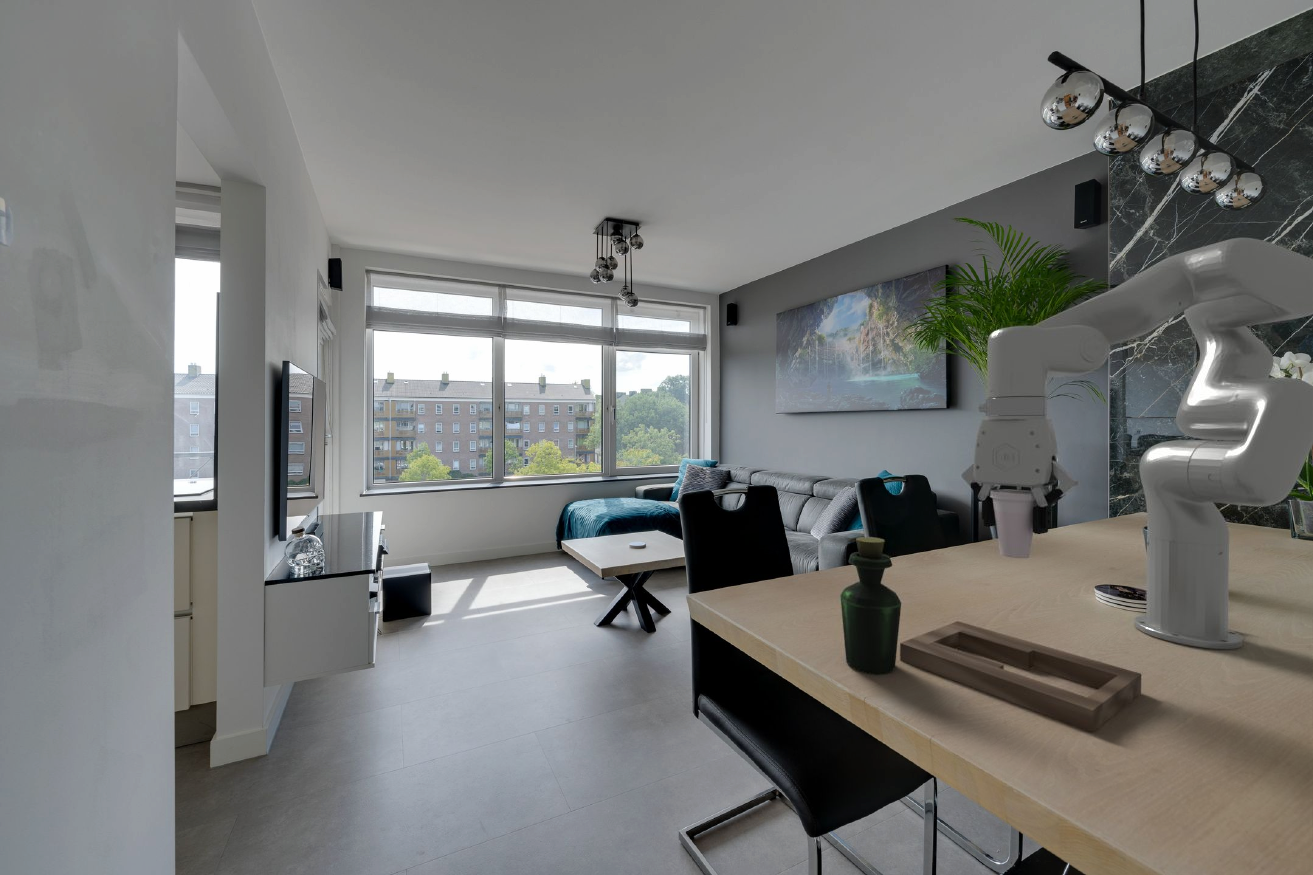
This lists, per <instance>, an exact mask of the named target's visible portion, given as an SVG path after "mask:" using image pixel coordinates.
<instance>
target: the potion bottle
mask: <svg viewBox="0 0 1313 875" xmlns="http://www.w3.org/2000/svg"><path fill="white" fill-rule="evenodd" d="M855 541H856V546H857V550H858V551H856V552H852V553H851V554H850V555H849V559H848V563H849V564H850V565H852V566H855V568H856V573H857V575H858V579H859V581H857V582H855V583H853V584H851V585H848V586H846V587H845V588H844V589H843V590H842V592H840V593H841V594H840V606H841V616H842V617H841V618H842V628H843V638H844V639H843V640H844V649H845V650H844V651H845V659H846V663H847V664H848V665H849V666H850V667H851V668H852V669H854V670H856V671H859V672H860V673H861V672H862V673H866V674H872V675H885V674H889V673H891V672H892V671H893V670H894V669H895V668H896V663H897V662H896V661H897V651H898V650H897V649H898V642H899V641H898V640H899V631H900V630H899V629H900V620H901V611H902V601H901V599H900V598H899V596H898V593H897V592H895V591H894V590H892V589H891V588H889V587H887V586H886V585H885V584H883V583H882V580H883V576H884V574H885V573H884V572H885V569H888V568H891V567H893V566H894V565H893V563H892V560H891V557H890V556H889V555H887V554H884V553H883V550H884V546H885V545H884V544H885V542H886V540H885V539H883V538H880V537H873V536H860V537H856V539H855Z"/></svg>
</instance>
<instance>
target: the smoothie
mask: <svg viewBox="0 0 1313 875" xmlns="http://www.w3.org/2000/svg"><path fill="white" fill-rule="evenodd" d="M990 497H991V498H993V506H994V513H995V520H996V526H995V527H996V532H997V540H998V547H999V555H1000V556H1002V557H1007V558H1011V559H1030V555H1031V551H1032V550H1031V549H1032V543H1033V536H1034V533H1033V507H1034V506H1037V501H1036V499H1035V497H1034V495H1033V492H1032V490H1025V489H1022V487H1019V486H1016V489H999V490H991V491H990Z"/></svg>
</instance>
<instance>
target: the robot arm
mask: <svg viewBox="0 0 1313 875" xmlns="http://www.w3.org/2000/svg"><path fill="white" fill-rule="evenodd" d="M1181 313H1184V317H1185V320H1186V322H1187V324H1188V326H1189V327H1190V330H1191V332H1192V333H1193V335H1194V338H1195V340H1196V342H1197V344H1198V347H1199V354H1200V355H1199V361H1198V363H1197V366H1196V368H1195V371H1194V373H1193V375H1192V377H1191V379H1190V382H1189V384H1188V386H1187V387H1186V390H1185V393H1184V394H1183V396H1182V399H1181V401H1180V403H1179V406H1178V409H1177V412H1176V417H1175V422H1176V426H1177V428H1178V429H1179V431H1180V432H1182V434H1184V435H1187V436H1189V437H1190V438H1195V439H1194V440H1193V439H1179V440H1169V441H1167V440H1166V441H1163V442H1159V443H1156V444H1155V445H1152V446H1151V447H1149V448H1148V449H1146V450H1145V452H1144V453H1143V454H1142V456H1141V458H1140V461H1139V477H1140V480H1141V481H1140V482H1141V485H1142V488H1143V493H1144V497H1145V503H1146V517H1147V518H1146V522H1147V526H1146V528H1147V529H1146V531H1147V534H1146V614H1141V615H1137V616H1136V617H1134V620H1133V625H1134V627H1135V628H1136V629H1137V630H1138V631H1141V632H1142V633H1144V634H1146V635H1149V636H1152V637H1155V638H1157V639H1161V640H1164V641H1168V642H1173V643H1175V644H1176V643H1177V644H1181V645H1186V646H1192V647H1197V648H1205V649H1212V650H1213V649H1214V650H1233V649H1238V648H1241V647H1242V646H1243V645H1244V643H1243V636H1241V634H1239V633H1237V632H1236V631H1234V630H1231V629H1229V592H1230V591H1229V585H1230V584H1229V582H1230V581H1229V576H1230V575H1229V571H1230V570H1229V569H1230V530H1229V527H1228V524H1227V521H1226V519H1225V518H1224V516H1223V514H1222V513H1221V511H1220V510H1219V508H1218V507H1217V506H1216V504H1218V503H1219V504H1226V505H1227V504H1228V505H1235V506H1247V507H1248V506H1249V507H1271V506H1273V505H1276V504H1278V503H1281V502H1282V501H1283V500H1284V499H1286V498H1287V497H1288V495H1289V494H1290V493H1291V491H1292V490H1293V489H1294V486H1295V484H1296V483H1297V481H1298V478H1299V477H1300V474H1301V471H1302V469H1303V467H1304V466H1305V463H1306V461H1307V458H1308V456H1309V453H1310V452H1311V450H1312V447H1313V385H1312V384H1310V382H1307V381H1305V380H1302V379H1298V378H1294V377H1270V374H1271V372H1272V370H1273V366H1274V356H1273V354H1272V352H1271V350H1270V349H1269V348H1268V347H1267V345H1266V344H1265V343H1264V342H1262V341H1261V340H1260V339H1259V338H1258V337H1256V335H1255V334H1254V333H1253V332H1252V331H1251V330H1250V329H1249V328H1248V327H1249V326H1255V325H1262V324H1268V323H1269V324H1270V323H1274V322H1275V323H1276V322H1283V321H1290V320H1296V319H1300V318H1305V317H1309V316H1312V315H1313V258H1312V257H1308V256H1306V255H1304V254H1301V253H1298V252H1295V251H1293V250H1291V249H1288V248H1286V247H1283V246H1280V245H1278V244H1276V243H1273V242H1269V241H1266V240H1262V239H1258V238H1252V237H1236V238H1230V239H1226V240H1222V241H1219V242H1216V243H1211V244H1208V245H1205V246H1201V247H1198V248H1195V249H1190V250H1187V251H1184V252H1183V251H1182V252H1179V253H1177V254H1174V255H1170V256H1169V257H1167V258H1164V259H1162V260H1160V261H1159V262H1156V263H1155V264H1154V265H1152V266H1150V267H1148V268H1147V269H1145V270H1143V271H1141V272H1139V273H1138V274H1137V275H1135V276H1133V277H1131V278H1130V279H1128V280H1126V281H1124V282H1123V283H1120V284H1119V285H1117V286H1116V287H1114V288H1112V289H1110V290H1108V291H1106V292H1104V293H1101V294H1098V295H1097V296H1094V297H1091V298H1090V299H1088V300H1086V301H1083V302H1082V303H1079V304H1077V305H1075V306H1073V307H1070V308H1068V309H1066V310H1063V311H1062V312H1059V313H1057V314H1054V315H1052V316H1050V317H1048V318H1046V319H1044V320H1041V321H1039V322H1038V323H1036V324H1035V325H1015V326H1010V327H1009V326H1008V327H1003V328H999V329H996V330H994V331H993V332H991V333H990V334H989V336H988V337H987V338H988V339H987V352H986V353H987V355H986V356H987V361H986V363H987V364H986V365H987V366H986V368H987V369H986V374H987V375H986V376H987V377H986V382H987V383H986V385H987V386H986V399H985V402H984V403H980V404H979V405H978V411H979V413H984V414H985V417H986V419H980V422H979V426H978V429H977V434H976V439H975V448H974V455H973V456H974V458H973V464H972V465H970V466H969V467H968V468H966V469H965V471H963V473H962V474H961V477H962V479H963V480H964V481H965V482H966V483H967V485H969V486H970V489H971V490H972V491H973V493H975V494H976V495H977V498H978V499H979V500H980V501H981V519H982V521H983V527H985V528H986V527H987V528H990V527H996V520H995V513H994V506H993V498H991V497H990V491H991V490H1000V488H1001V486H1008V487H1017V486H1019V487H1021V488H1022V487H1023V488H1030V491H1032V492H1033V495H1034V497H1035V499H1036V501H1037V506H1034V507H1033V534H1036V535H1042V534H1046V533H1048V532H1049V529H1051V527H1052V506H1055V504H1056V503H1057V502H1058V501H1060V500H1061V499H1062V498H1064V497H1065V496H1066V494H1068V493H1069V492H1071V491H1072V490H1074V488H1076V487H1077V486H1078V485H1079V481H1078V480H1077V479H1076V478H1074V476H1073V475H1072V474H1070V473H1069V472H1068V471H1067V470H1066V469H1065V468H1064V467H1063V466H1061V465H1060V463H1059V454H1058V443H1057V438H1056V432H1055V428H1054V424H1053V421H1052V419H1051V418H1047V414H1048V412H1047V409H1048V379H1054V378H1055V379H1060V378H1071V377H1079V376H1083V375H1087V374H1090V373H1092V372H1094V371H1096V370H1098V369H1100V367H1102V366H1103V365H1104V364H1105V362H1106V361H1107V360H1108V357H1109V355H1110V350H1111V347H1110V346H1111V345H1115V344H1118V343H1119V344H1120V343H1122V342H1123V343H1124V342H1126V341H1130V340H1133V339H1136V338H1138V337H1141V336H1144V335H1147V334H1148V333H1150V332H1152V331H1153V330H1154V329H1156V328H1159V327H1160V326H1162V325H1163V324H1164V323H1166V322H1167V321H1169V320H1171V319H1173V318H1175V317H1176V316H1178V315H1179V314H1181ZM1197 439H1198V440H1197ZM1199 439H1200V440H1199ZM1058 481H1059V484H1058V485H1057V486H1056V487H1055V488H1053V489H1052V490H1051V488H1050V486H1054V485H1055V484H1056V483H1057V482H1058ZM1215 503H1216V504H1215Z"/></svg>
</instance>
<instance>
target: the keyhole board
mask: <svg viewBox="0 0 1313 875" xmlns="http://www.w3.org/2000/svg"><path fill="white" fill-rule="evenodd" d="M899 645H900V646H899V661H902V662H904V663H908V664H910V665H912V666H915V667H918V668H920V669H923V670H925V671H928V672H931V673H933V674H936V675H939V676H940V677H943V678H944V677H945V678H946V679H950V680H952V681H955V682H958V683H959V684H963V685H965V686H968V687H971V688H974V689H975V690H979V691H981V692H984V693H987V694H989V695H991V696H994V697H997V698H1000V699H1003V700H1004V701H1007V702H1010V703H1013V704H1015V705H1018V706H1021V707H1024V708H1025V709H1029V710H1032V711H1034V712H1037V713H1039V714H1042V715H1044V716H1048V717H1050V718H1052V719H1055V720H1058V721H1061V722H1063V723H1065V724H1068V725H1071V726H1074V727H1076V728H1079V729H1082V730H1085V731H1087V732H1090V733H1094V732H1095V731H1096V730H1098V729H1099V728H1100V727H1101V726H1102V725H1104V724H1105V723H1106V722H1108V721H1109V720H1110V719H1111V718H1112V717H1114V716H1115V715H1116V714H1117V713H1119V712H1120V711H1121V710H1122V709H1124V708H1125V707H1126V706H1127V705H1128V704H1130V703H1131V702H1132V701H1133V700H1135V699H1136V698H1138V697H1139V696H1140V695H1141V694H1142V673H1140V672H1137V671H1133V670H1131V669H1127V668H1123V667H1119V666H1116V665H1113V664H1108V663H1105V662H1103V661H1097V660H1095V659H1092V658H1088V657H1086V656H1085V657H1083V656H1080V655H1077V654H1074V653H1070V652H1066V651H1064V650H1060V649H1056V648H1053V647H1049V646H1046V645H1042V644H1039V643H1035V642H1032V641H1028V640H1025V639H1022V638H1018V637H1014V636H1011V635H1008V634H1003V633H1000V632H997V631H994V630H991V629H986V628H983V627H979V626H977V625H974V624H973V625H972V624H970V623H969V624H968V623H965V622H963V621H958V620H957V621H954V622H952V623H949V624H947V625H943V626H941V627H939V628H936V629H933V630H931V631H928V632H926V633H923V634H920V635H917V636H915V637H912V638H910V639H907V640H904V641H902V642H900V643H899ZM958 647H959V648H958ZM956 648H957V649H956ZM962 648H963V649H962ZM958 649H962V650H965V651H962V650H958ZM966 651H968V652H971V653H974V654H978V655H981V656H984V657H986V658H984V657H981V656H978V655H974V654H971V653H968V652H966ZM987 658H990V659H993V660H996V661H997V662H995V661H992V660H990V659H987ZM998 661H999V662H1001V663H998ZM1002 663H1005V664H1008V665H1010V666H1011V665H1012V666H1014V667H1016V668H1020V669H1023V670H1026V671H1029V670H1032V669H1035V670H1039V671H1042V672H1045V673H1048V674H1051V675H1054V676H1056V677H1057V676H1058V677H1061V678H1064V679H1066V680H1069V681H1074V682H1077V683H1080V684H1082V685H1086V686H1088V687H1092V688H1095V689H1097V690H1095V691H1093V692H1092V693H1091V694H1090V695H1088V696H1084V695H1081V694H1078V693H1075V692H1072V691H1069V690H1066V689H1063V688H1060V687H1057V686H1055V685H1051V684H1048V683H1046V682H1043V681H1040V680H1038V679H1037V680H1036V679H1033V678H1031V677H1027V676H1025V675H1022V674H1019V673H1017V672H1016V673H1015V672H1013V671H1010V670H1007V669H1005V665H1004V664H1002Z"/></svg>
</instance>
